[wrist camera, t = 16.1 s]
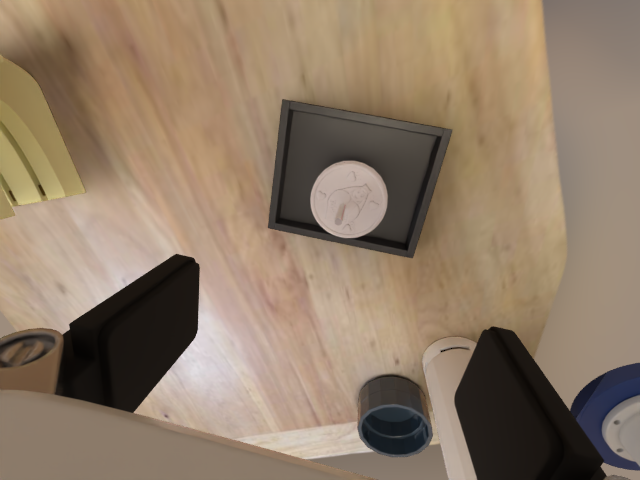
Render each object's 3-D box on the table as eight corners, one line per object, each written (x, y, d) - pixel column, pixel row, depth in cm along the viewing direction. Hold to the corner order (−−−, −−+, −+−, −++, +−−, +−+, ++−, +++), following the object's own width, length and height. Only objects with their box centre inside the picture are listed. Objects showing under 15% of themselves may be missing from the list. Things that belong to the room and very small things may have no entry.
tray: (446, 129, 32) (452, 129, 29) (409, 250, 37) (412, 258, 34) (288, 100, 33) (282, 99, 30) (273, 221, 38) (267, 228, 35)
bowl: (434, 383, 43) (442, 415, 38) (414, 430, 46) (420, 464, 42) (366, 367, 43) (366, 396, 39) (352, 415, 47) (351, 447, 42)
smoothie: (312, 176, 35) (280, 208, 22) (359, 138, 33) (354, 148, 20) (347, 220, 36) (336, 275, 23) (394, 186, 34) (411, 226, 21)
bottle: (449, 325, 39) (609, 718, 13) (500, 358, 40) (747, 793, 14) (409, 365, 42) (476, 749, 16) (457, 394, 43) (595, 809, 17)
